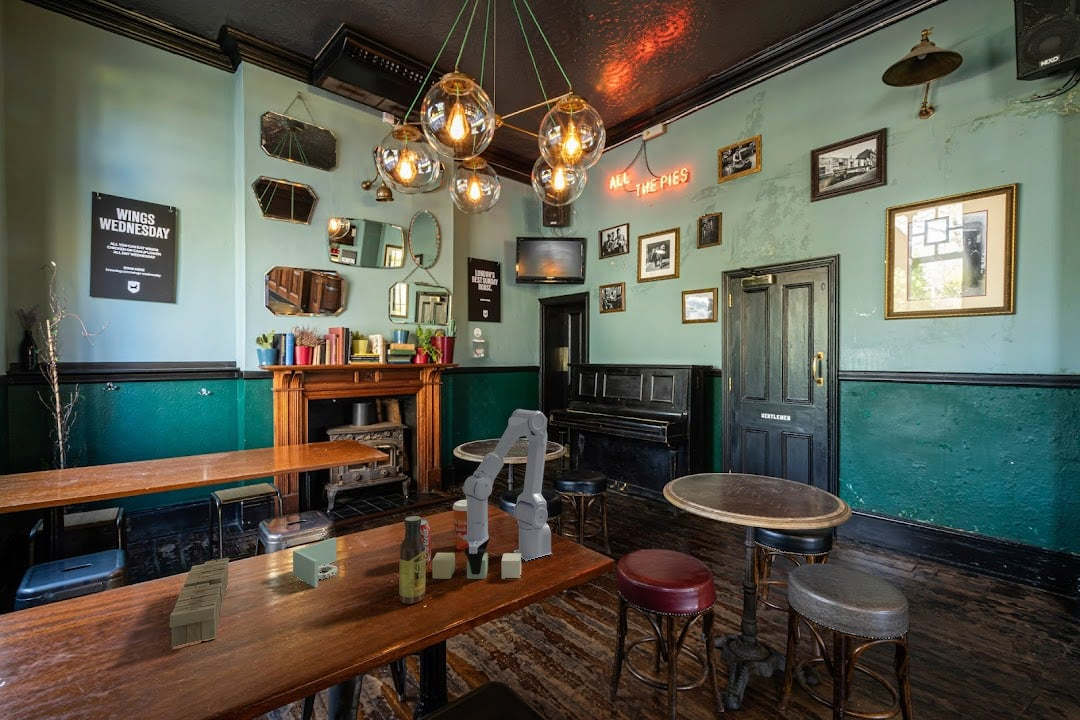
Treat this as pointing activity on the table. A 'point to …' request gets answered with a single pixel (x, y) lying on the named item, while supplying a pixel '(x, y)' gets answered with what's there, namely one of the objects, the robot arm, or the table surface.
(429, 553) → the soda can
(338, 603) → the table surface
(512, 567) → the cream block
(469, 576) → the sage green block
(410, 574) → the sauce bottle
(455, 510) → the paper cup
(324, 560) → the right angle wall
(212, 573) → the block tower
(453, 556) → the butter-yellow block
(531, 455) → the robot arm
